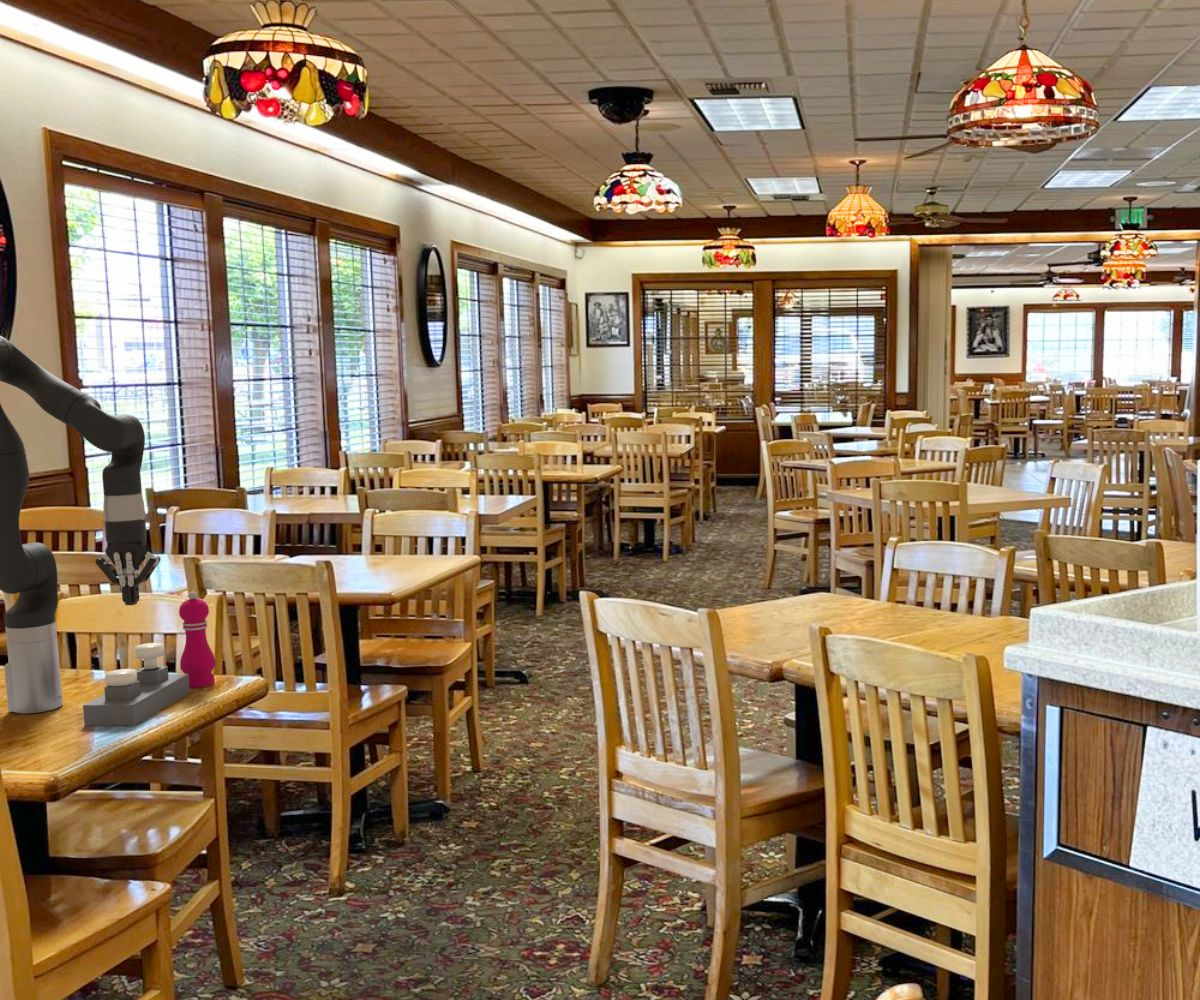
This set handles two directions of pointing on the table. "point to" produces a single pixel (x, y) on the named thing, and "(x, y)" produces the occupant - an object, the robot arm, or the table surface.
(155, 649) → the knob
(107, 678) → the knob
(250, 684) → the table surface
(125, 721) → the mount bar
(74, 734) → the table surface
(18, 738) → the table surface
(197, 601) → the pepper mill
